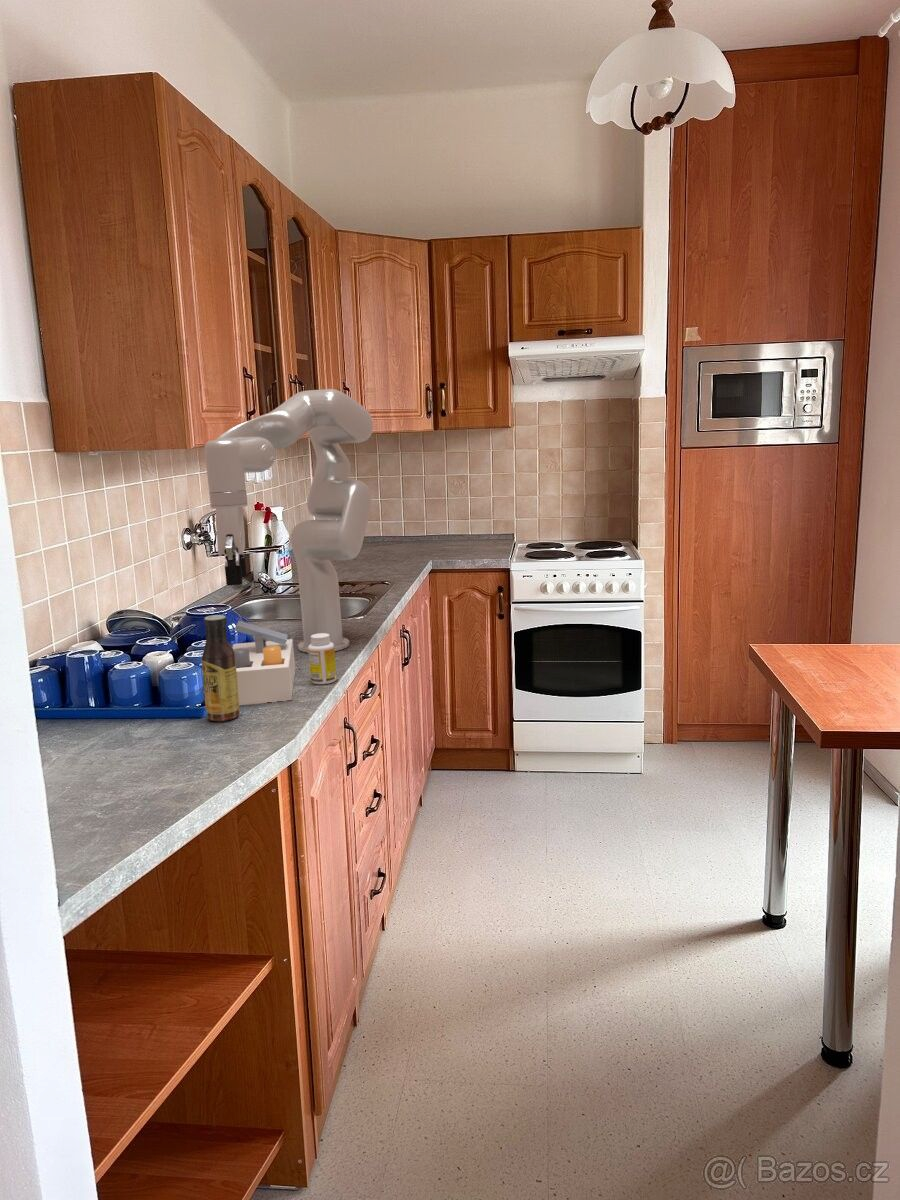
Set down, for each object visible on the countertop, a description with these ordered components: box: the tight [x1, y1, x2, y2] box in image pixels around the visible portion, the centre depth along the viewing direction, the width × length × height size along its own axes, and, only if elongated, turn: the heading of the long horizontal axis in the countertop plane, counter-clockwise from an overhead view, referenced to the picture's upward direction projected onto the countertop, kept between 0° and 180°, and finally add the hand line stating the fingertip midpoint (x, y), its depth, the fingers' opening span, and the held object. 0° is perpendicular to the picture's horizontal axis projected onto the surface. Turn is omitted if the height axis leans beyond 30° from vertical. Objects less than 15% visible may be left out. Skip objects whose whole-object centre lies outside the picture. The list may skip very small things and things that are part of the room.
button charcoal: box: [234, 648, 250, 668], centre depth 180 cm, size 4×4×8 cm
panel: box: [232, 636, 296, 706], centre depth 188 cm, size 24×13×10 cm, turn 8°
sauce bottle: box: [200, 614, 240, 723], centre depth 168 cm, size 7×6×20 cm
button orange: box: [263, 646, 282, 666], centre depth 181 cm, size 4×4×8 cm
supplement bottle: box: [307, 633, 338, 685], centre depth 189 cm, size 6×6×10 cm
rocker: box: [234, 620, 288, 645], centre depth 192 cm, size 6×11×2 cm, turn 98°
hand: (236, 580), depth 188 cm, fingers open, 9 cm apart
